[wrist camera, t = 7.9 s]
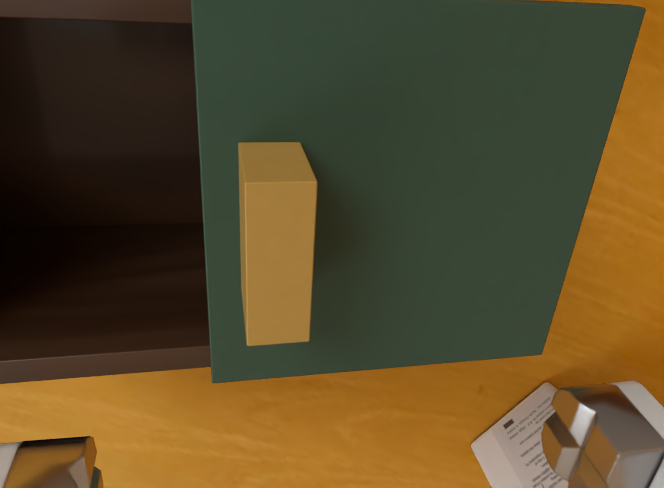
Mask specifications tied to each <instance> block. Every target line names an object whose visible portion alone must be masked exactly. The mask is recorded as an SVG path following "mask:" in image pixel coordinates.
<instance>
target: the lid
mask: <svg viewBox="0 0 664 488" xmlns="http://www.w3.org/2000/svg"><path fill="white" fill-rule="evenodd" d="M645 11H646V9H645V8H643V7H638V6H632V5H621V4H600V3H578V2H557V1H536V0H191V13H192V31H193V49H194V67H195V85H196V103H197V121H198V139H199V158H200V176H201V194H202V212H203V230H204V248H205V266H206V284H207V302H208V320H209V338H210V356H211V374H212V383H222V382H234V381H245V380H257V379H268V378H280V377H291V376H303V375H314V374H326V373H337V372H349V371H360V370H372V369H383V368H395V367H406V366H418V365H430V364H441V363H453V362H464V361H476V360H487V359H499V358H510V357H522V356H533V355H541V354H542V352H543V348H544V345H545V342H546V338H547V335H548V332H549V328H550V325H551V322H552V319H553V315H554V312H555V309H556V305H557V302H558V299H559V295H560V292H561V289H562V285H563V282H564V279H565V276H566V272H567V269H568V266H569V262H570V259H571V256H572V252H573V249H574V246H575V242H576V239H577V236H578V232H579V229H580V226H581V223H582V219H583V216H584V213H585V209H586V206H587V203H588V199H589V196H590V193H591V189H592V186H593V183H594V179H595V176H596V173H597V170H598V166H599V163H600V160H601V156H602V153H603V150H604V146H605V143H606V140H607V136H608V133H609V130H610V126H611V123H612V120H613V117H614V113H615V110H616V107H617V103H618V100H619V97H620V93H621V90H622V87H623V83H624V80H625V77H626V73H627V70H628V67H629V64H630V60H631V57H632V54H633V50H634V47H635V44H636V40H637V37H638V34H639V30H640V27H641V24H642V20H643V17H644V14H645Z"/></svg>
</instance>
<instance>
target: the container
mask: <svg viewBox="0 0 664 488" xmlns="http://www.w3.org/2000/svg"><path fill="white" fill-rule="evenodd" d="M557 391H558V389H556V388H555V387H554V386H553V385H551V384H550V383H548V382H547V383H543V384H542V385H541V386H540V387H538V388H537V389H536V390H535V391H534V392H532V393H531V394H530V395H529V396H528V397H526V398H525V399H524V400H523V401H522V402H520V403H519V404H518V405H517V406H516V407H514V408H513V409H512V410H511V411H510V412H508V413H507V414H506V415H505V416H504V417H502V418H501V419H500V420H499V421H498V422H496V423H495V424H494V425H493V426H492V427H490V428H489V429H488V430H487V431H486V432H484V433H483V434H482V435H481V436H480V437H478V438H477V439H476V440H475V441H474V442H473V443H472V445H471V447H472V450H473V452H474V454H475V456H476V458H477V460H478V462H479V463H480V465H481V467H482V469H483V471H484V473H485V475H486V477H487V479H488V481H489V483H490V485H491V487H492V488H568V481H566V480H565V479H563V478H562V477H560V476H559V475H557V474H556V473H554V472H553V470H552V468H551V467H550V465H549V463H548V462H547V459H546V457H545V454H544V451H543V447H542V438H541V433H542V430H543V426H544V423H545V421H546V420H547V419H548V418H549V417H550V416H551V415H552V414H553V413H554V412H555V410H554V408H553V407H552V405H551V402H552V399H553V396H554V394H555V393H556V392H557Z"/></svg>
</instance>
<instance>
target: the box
mask: <svg viewBox="0 0 664 488" xmlns="http://www.w3.org/2000/svg"><path fill="white" fill-rule="evenodd" d="M202 367H211V356H210V338H209V320H208V302H207V284H206V266H205V248H204V230H203V212H202V194H201V176H200V158H199V139H198V121H197V103H196V85H195V67H194V49H193V31H192V13H191V0H0V384H5V383H17V382H29V381H42V380H54V379H66V378H79V377H91V376H103V375H115V374H128V373H140V372H152V371H165V370H177V369H189V368H202Z"/></svg>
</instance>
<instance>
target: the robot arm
mask: <svg viewBox="0 0 664 488" xmlns="http://www.w3.org/2000/svg"><path fill="white" fill-rule="evenodd" d="M551 405H552V407H553V408H554V410H555V412H554V413H553V414H552V415H551V416H550V417H549V418H548V419H547V420H546V421H545V423H544V426H543V430H542V433H541V438H542V447H543V451H544V454H545V457H546V459H547V462H548V463H549V465H550V467H551V468H552V470H553V472H554V473H556V474H557V475H559V476H560V477H562V478H563V479H565V480H566V481H568V488H664V407H663V406H662V405H661V404H660V403H659V402H658V401H657V400H656V399H655V398H654V397H653V396H652V394H651V393H650V392H649V391H648V390H647V389H646V388H645V387H644V386H643V385H642V384H640V383H638V382H636V381H634V380H633V381H623V382H614V383H608V384H606V383H603V384H594V385H585V386H576V387H568V388H560V389H559V390H558V391H557V392H556V393H555V394H554V396H553V399H552V402H551ZM96 454H97V450H96V446H95V442H94V438H93V437H91V436H86V437H73V438H60V439H46V440H33V441H23V442H14V443H1V444H0V488H103V479H102V474H101V470H99V469H98V468H96V467H95V466H94V464H95V459H96Z"/></svg>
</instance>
